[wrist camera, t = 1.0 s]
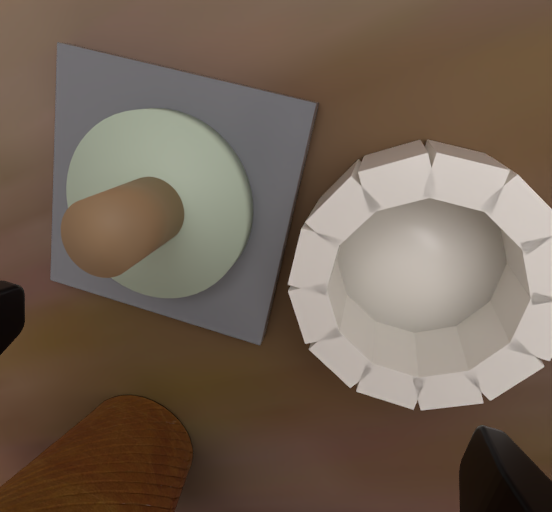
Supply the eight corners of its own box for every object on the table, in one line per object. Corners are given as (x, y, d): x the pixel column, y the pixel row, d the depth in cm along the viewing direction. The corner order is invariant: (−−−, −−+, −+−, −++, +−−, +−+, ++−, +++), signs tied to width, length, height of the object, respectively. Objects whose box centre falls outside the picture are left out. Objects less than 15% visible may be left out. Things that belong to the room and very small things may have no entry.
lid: (270, 133, 18) (229, 150, 14) (236, 308, 21) (192, 371, 17) (87, 88, 20) (-10, 89, 15) (79, 261, 23) (-4, 308, 18)
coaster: (319, 102, 18) (316, 103, 18) (264, 337, 23) (260, 345, 22) (69, 43, 20) (57, 42, 19) (60, 274, 24) (50, 279, 23)
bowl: (580, 176, 17) (633, 199, 14) (487, 377, 21) (508, 440, 17) (338, 118, 18) (326, 125, 15) (288, 317, 22) (268, 363, 18)
